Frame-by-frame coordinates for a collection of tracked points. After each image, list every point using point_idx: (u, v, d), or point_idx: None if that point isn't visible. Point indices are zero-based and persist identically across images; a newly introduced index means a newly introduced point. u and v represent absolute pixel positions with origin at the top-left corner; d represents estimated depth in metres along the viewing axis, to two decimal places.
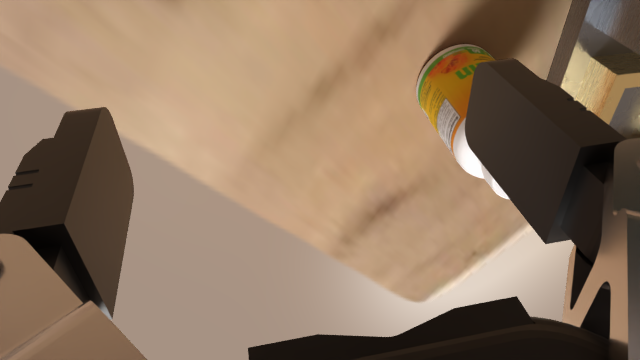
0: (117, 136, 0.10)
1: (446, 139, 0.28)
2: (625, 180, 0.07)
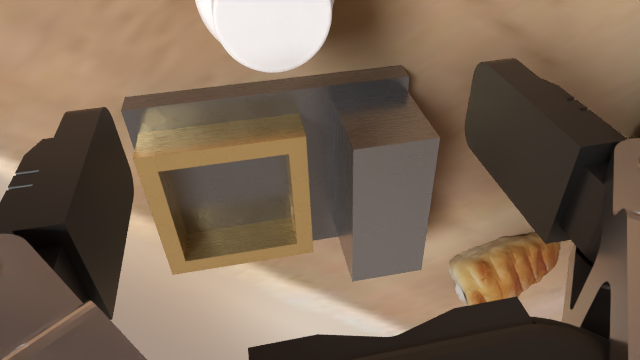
0: (117, 136, 0.10)
1: None
2: (625, 180, 0.07)
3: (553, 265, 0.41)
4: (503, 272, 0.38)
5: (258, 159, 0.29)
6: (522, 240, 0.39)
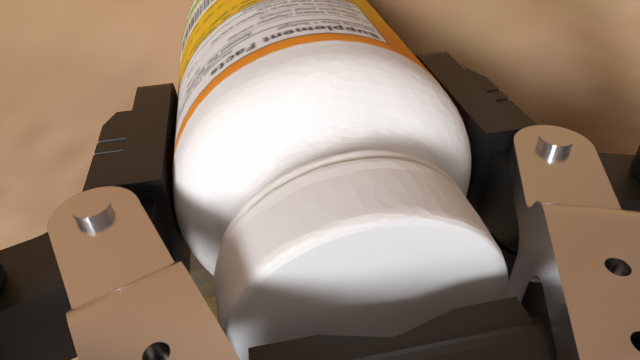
0: None
1: (269, 28, 0.08)
2: (530, 170, 0.07)
3: None
4: None
5: None
6: None
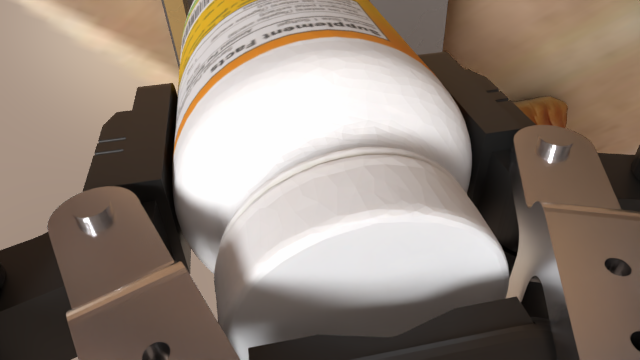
0: None
1: (269, 25, 0.08)
2: (530, 170, 0.07)
3: None
4: None
5: None
6: (527, 101, 0.39)
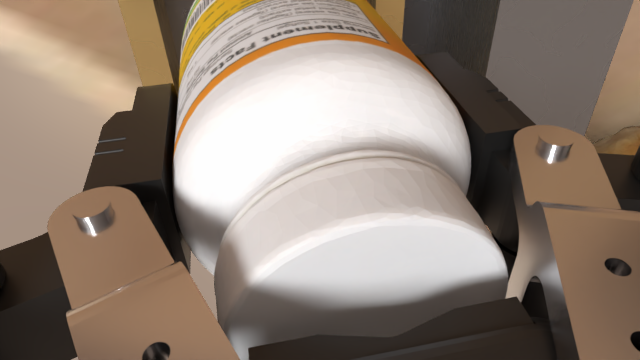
0: None
1: (269, 28, 0.08)
2: (529, 170, 0.07)
3: None
4: None
5: None
6: None
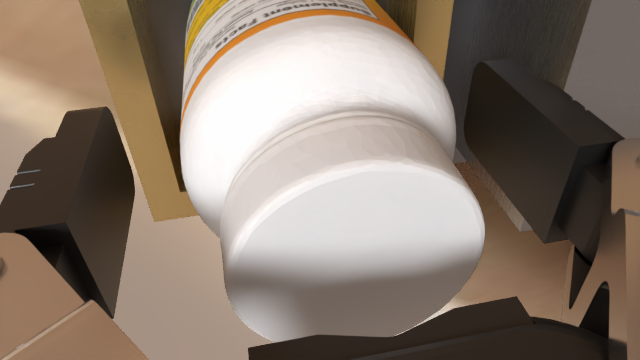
0: (118, 136, 0.10)
1: (269, 6, 0.09)
2: (623, 180, 0.07)
3: None
4: None
5: None
6: None
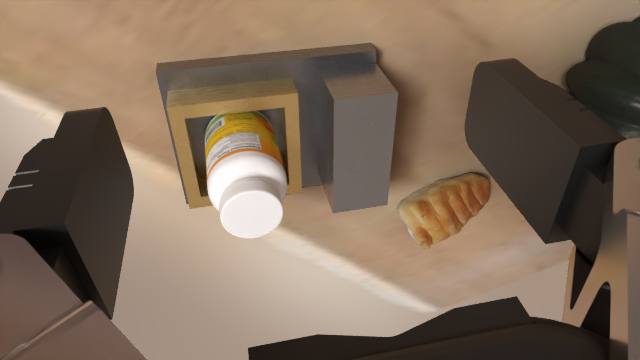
0: (117, 136, 0.10)
1: (232, 145, 0.32)
2: (625, 180, 0.07)
3: (486, 199, 0.47)
4: (439, 208, 0.45)
5: None
6: (454, 180, 0.46)
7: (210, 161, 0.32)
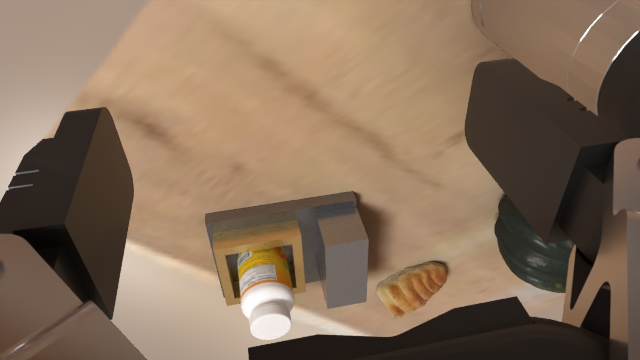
0: (117, 136, 0.10)
1: (257, 277, 0.48)
2: (625, 180, 0.07)
3: (444, 281, 0.62)
4: (406, 291, 0.61)
5: None
6: (418, 269, 0.61)
7: (242, 285, 0.48)
